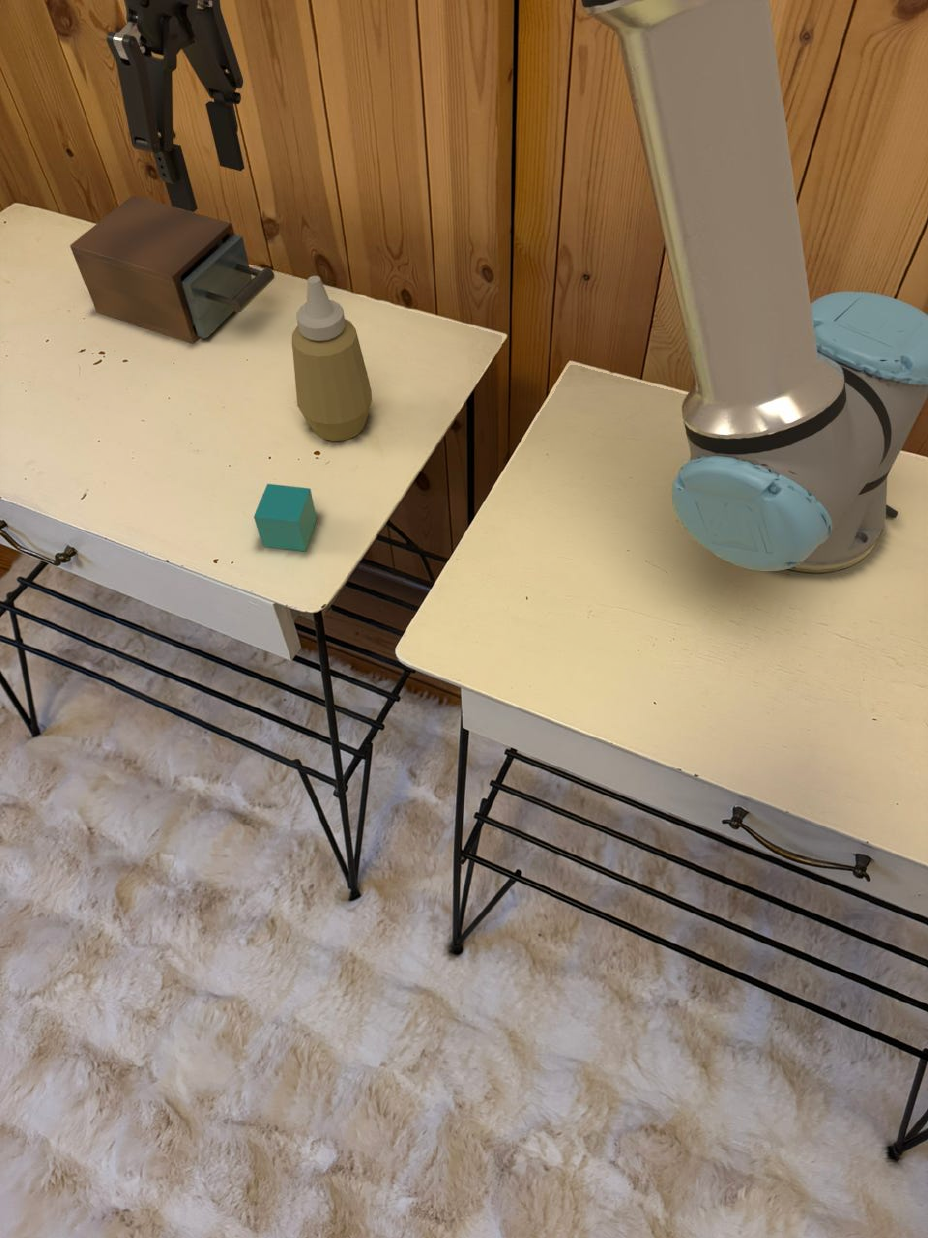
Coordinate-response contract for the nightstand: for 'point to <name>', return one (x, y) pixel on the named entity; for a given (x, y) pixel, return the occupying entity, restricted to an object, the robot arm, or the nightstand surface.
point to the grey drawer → (221, 284)
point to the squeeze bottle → (329, 368)
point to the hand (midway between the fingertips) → (209, 186)
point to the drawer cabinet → (146, 263)
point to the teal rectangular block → (286, 517)
